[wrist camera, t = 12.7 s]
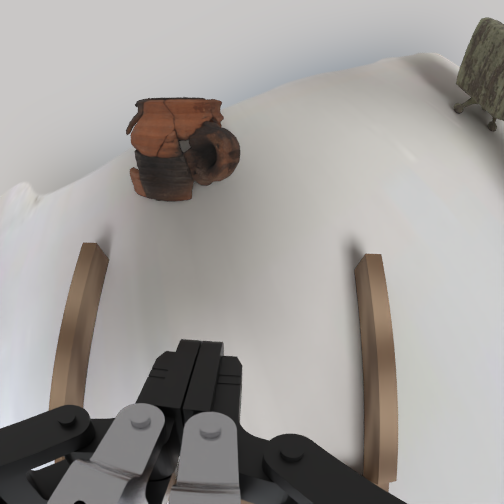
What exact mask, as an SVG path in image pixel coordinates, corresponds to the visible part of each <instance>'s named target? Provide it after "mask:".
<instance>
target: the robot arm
mask: <svg viewBox="0 0 504 504" xmlns="http://www.w3.org/2000/svg"><path fill="white" fill-rule="evenodd" d="M241 390H242V365H241V363H240V361H239V360H238V358H237V357H233V356H224V346H223V342H212V341H198V340H186V339H181V340H180V343H179V345H178V347H177V350H176V352H170V351H166V352H164V353H163V354H162V355H161V356H159V357H158V358H157V359H156V361H155V363H154V365H153V367H152V370H151V372H150V374H149V377H148V378H147V380H146V382H145V384H144V386H143V388H142V391H141V393H140V395H139V397H138V399H137V401H136V403H135V404H132V405H129V406H127V407H125V408H123V409H122V410H121V411H120V412H119V413H118V415H117V416H116V418H111V419H90V416H89V414H88V412H87V411H86V410H85V409H83V408H82V407H80V406H77V405H63V406H60V407H57V408H55V409H52V410H50V411H47V412H44V413H42V414H39V415H37V416H34V417H31V418H29V419H26V420H23V421H21V422H18V423H15V424H12V425H10V426H7V427H4V428H1V429H0V504H167V502H168V499H169V504H241V500H244V501H247V502H251V503H254V504H407V503H405V502H404V501H402V500H400V499H398V498H397V497H395V496H393V495H392V494H390V493H388V492H387V491H385V490H383V489H382V488H380V487H379V486H377V485H375V484H374V483H372V482H371V481H369V480H368V479H366V478H365V477H363V476H361V475H360V474H358V473H357V472H355V471H354V470H352V469H351V468H350V467H348V466H347V465H345V464H344V463H342V462H341V461H339V460H338V459H337V458H335V457H334V456H332V455H331V454H329V453H328V452H327V451H325V450H324V449H323V448H321V447H320V446H318V445H317V444H316V443H314V442H313V441H312V440H310V439H309V438H307V437H305V436H302V435H298V434H283V435H279V436H276V437H274V438H272V439H271V440H270V441H269V440H265V439H261V438H258V437H255V436H253V435H251V434H249V433H248V432H246V431H245V430H244V429H243V428H242V426H241V425H240V409H241ZM62 456H64V458H65V459H64V460H62V461H59V462H57V463H55V464H52V465H50V466H47V467H45V468H42V469H40V470H36V471H33V470H31V469H33V468H36V467H38V466H41V465H43V464H46V463H48V462H51V461H53V460H55V459H58V458H60V457H62ZM179 456H180V461H179V468H178V476H177V482H176V484H175V485H173V484H174V481H175V479H176V475H177V470H176V466H177V462H178V458H179Z"/></svg>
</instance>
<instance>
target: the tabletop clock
mask: <svg viewBox="0 0 504 504" xmlns="http://www.w3.org/2000/svg"><path fill="white" fill-rule="evenodd" d="M456 84H457V85H458V86H459V87H460V88H461V89H462V90H463V91H465V92H466V93H467V94H468V95H469V96H471V98H470V99H469V100H468V101H466V102H465V103H463V104H462V105H461V104H459V103H456V104H455V105H454V110H455V111H456V112H457V113H461V112H462V111H463V108H464V107H466V106H469V105H471V104H480V105H481V107H482V109H483V110H485V111H487V112H488V113H489V114H490V115H491V116H492V117H493V120H492V122H489V124H488V127H489V129H490V130H491V131H496V129H497V125H496V123H495V121H496V119H500V120H503V121H504V24H502V23H501V22H499V21H497V20H494V19H491V18H483V19H481V20H480V22H479V24H478V25H477V27H476V29H475V31H474V33H473V36H472V38H471V40H470V43H469V45H468V47H467V50H466V52H465V56H464V58H463V61H462V64H461V66H460V69H459V73H458V76H457V82H456Z"/></svg>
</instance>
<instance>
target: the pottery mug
mask: <svg viewBox="0 0 504 504" xmlns="http://www.w3.org/2000/svg"><path fill="white" fill-rule="evenodd" d="M221 104H222V102H221V101H218V100H215V99H211V100H205V99H204V98H186V97H184V98H151V99H150V98H148V99H143V100H139V101H137V103H136V104H135V106H136V107H138V113H137V114H136V115H135V116H134V117H133V119H132V120H131V121H130V123H129V126H128V127H127V130H126V134H127V135H128V134H130V132H131V130H132V128H133V126H135V127H134V129H133V131H132V133H131V144H132V145H133V146H134V148H136V150H135V158H136V161H137V167H138V169H139V170H138V169H136V168H134V167H133V168H131V169H130V176H131V179H132V182H133V185H134V189H135V191H136V192H137V194H139V195H141V196H144V197H147V198H151V199H156V200H158V201H160V200H163V201H182V200H189V199H191V198H192V189H193V183H194V181H196V182H197V183H199V184H200V185H206V186H207V185H209V184H211V183H212V182H214V181H221V180H223V179H225V178H227V177H228V176H230V175H231V174H232V173H233V171H234V170H235V168H236V166H237V164H238V163H239V160H240V145H239V143H238V140H237V139H236V137H235V136H234V135H233V134H232V133H231V132H230V131H228V130H227V129H225V128H221V123H220V122H221V121H222V120H223V119H224V117H223V116H222V114H221V113H220V106H221ZM136 123H137V124H136ZM135 124H136V125H135ZM186 140H189V144H190V146H191V148H190V149H188V150H187V151H186V152H185V153H184V152H182V150H181V146H180V143H179V141H186Z"/></svg>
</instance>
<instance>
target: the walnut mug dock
mask: <svg viewBox="0 0 504 504" xmlns="http://www.w3.org/2000/svg"><path fill="white" fill-rule="evenodd" d="M108 262H109V259H108V258H107V257H106V255H105V254H104V252H103V251H102V250H101V248H100V247H99V246H98V244H97V243H83V244H82V247H81V251H80V254H79V257H78V260H77V264H76V267H75V271H74V274H73V278H72V282H71V285H70V289H69V293H68V297H67V301H66V306H65V310H64V314H63V319H62V324H61V329H60V334H59V339H58V344H57V350H56V356H55V362H54V369H53V376H52V384H51V392H50V402H49V411H50V410H52V409H55V408H57V407H60V406H63V405H77V406H80V407H82V408H83V402H84V392H85V383H86V375H87V368H88V361H89V354H90V348H91V341H92V336H93V330H94V325H95V319H96V314H97V309H98V305H99V300H100V295H101V291H102V286H103V282H104V278H105V274H106V270H107V266H108ZM354 272H355V280H356V289H357V298H358V308H359V318H360V330H361V343H362V359H363V380H364V468H363V477H365V478H366V479H368V480H369V481H371V482H372V483H374V484H375V485H377V486H379V487H380V488H382V489H383V490H385V491H387V492H388V490H389V482H394V481H396V479H397V458H398V401H397V379H396V364H395V352H394V341H393V331H392V322H391V314H390V306H389V299H388V292H387V286H386V279H385V273H384V267H383V262H382V256H381V254H365V255H364V257H363V258H362V260H361V261H360V263H359V264H358V265H357V267H356V268H355V270H354ZM64 459H65V458H64V456H62V457H60V458H58V459H55V463H57V462H59V461H62V460H64ZM176 482H177V480H176V479H175V481H174V484H173V485H175V484H176ZM168 501H169V499H168ZM241 504H254V503H251V502H247V501H244V500H241Z"/></svg>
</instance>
